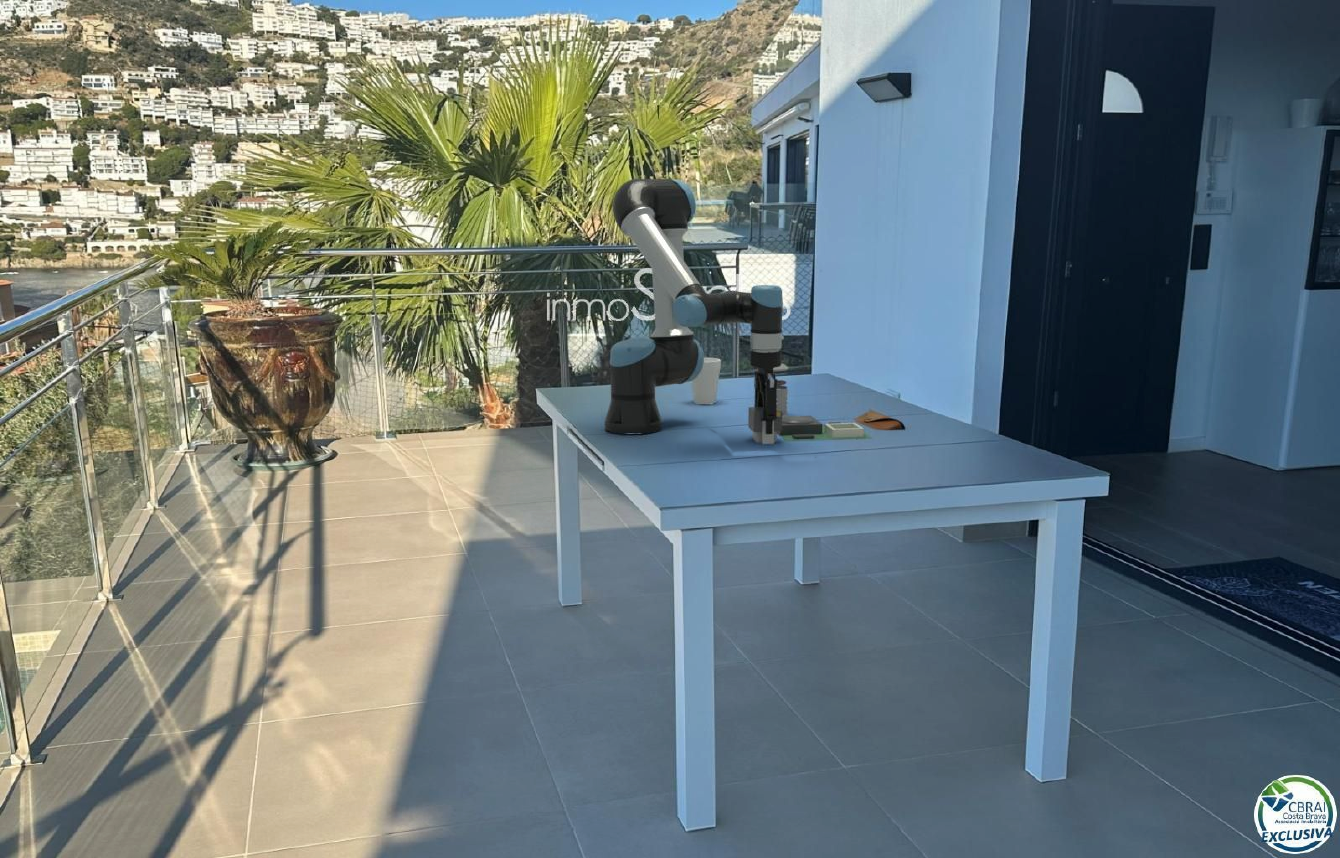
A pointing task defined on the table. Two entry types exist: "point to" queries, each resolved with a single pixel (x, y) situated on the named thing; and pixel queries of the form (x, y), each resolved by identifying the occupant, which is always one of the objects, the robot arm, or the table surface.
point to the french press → (781, 391)
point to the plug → (756, 423)
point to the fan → (800, 425)
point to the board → (818, 436)
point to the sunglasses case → (879, 421)
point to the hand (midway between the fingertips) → (764, 443)
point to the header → (844, 430)
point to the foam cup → (707, 382)
